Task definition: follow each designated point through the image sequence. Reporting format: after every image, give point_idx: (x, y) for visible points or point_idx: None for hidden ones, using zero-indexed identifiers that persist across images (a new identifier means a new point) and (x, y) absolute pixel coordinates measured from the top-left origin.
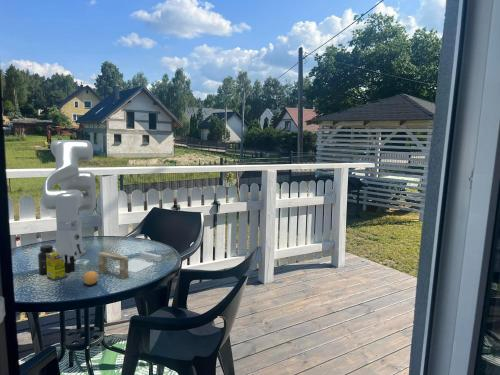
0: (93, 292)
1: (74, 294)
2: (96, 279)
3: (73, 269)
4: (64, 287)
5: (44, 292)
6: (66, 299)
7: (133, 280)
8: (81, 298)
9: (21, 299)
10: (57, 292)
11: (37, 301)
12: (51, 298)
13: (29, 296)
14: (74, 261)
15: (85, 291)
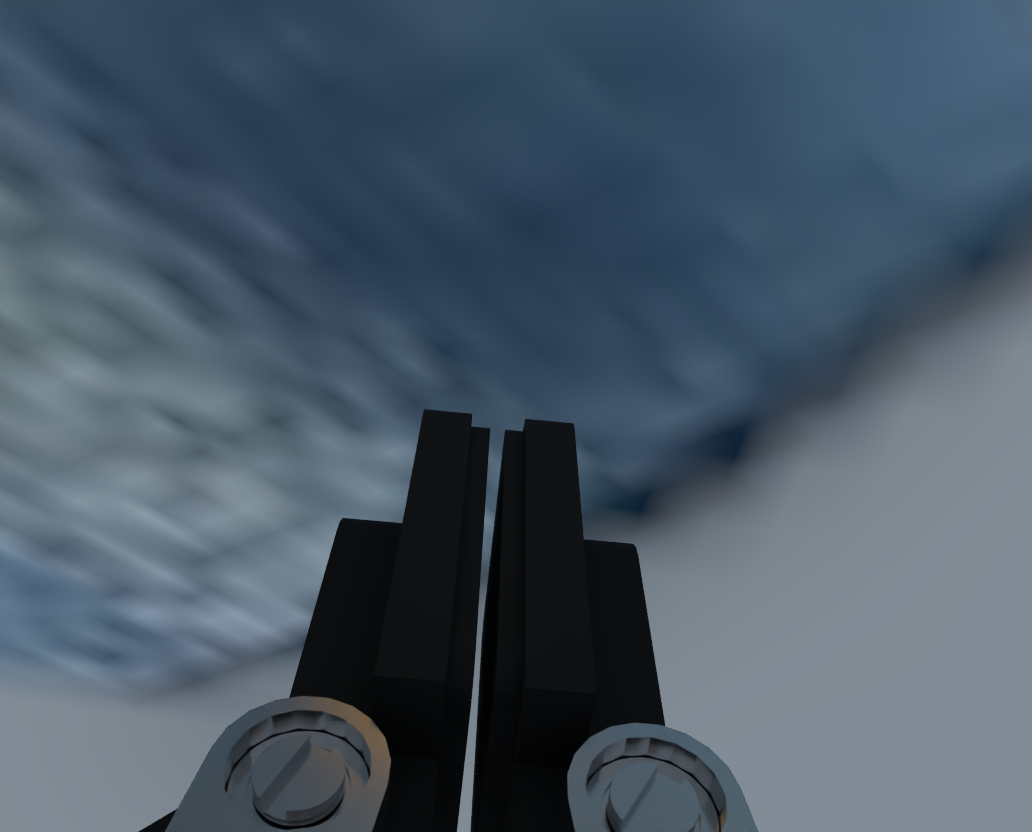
0: (917, 12)
1: (601, 253)
2: None
3: (630, 562)
4: (120, 77)
5: (40, 402)
6: (623, 446)
7: None
8: (845, 326)
9: (25, 667)
10: (236, 315)
11: (282, 632)
12: (370, 506)
13: (8, 577)
14: (696, 780)
15: (710, 46)
